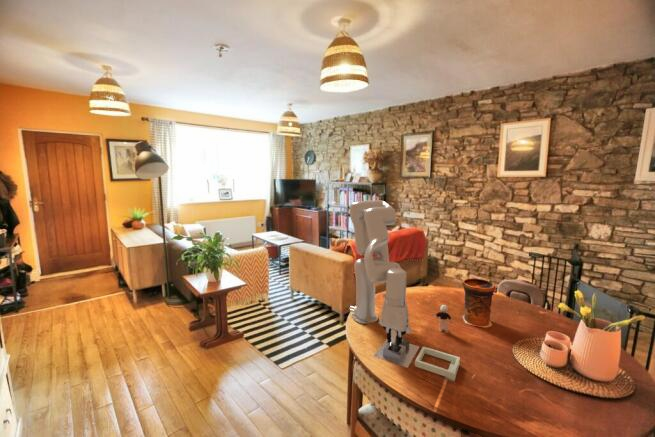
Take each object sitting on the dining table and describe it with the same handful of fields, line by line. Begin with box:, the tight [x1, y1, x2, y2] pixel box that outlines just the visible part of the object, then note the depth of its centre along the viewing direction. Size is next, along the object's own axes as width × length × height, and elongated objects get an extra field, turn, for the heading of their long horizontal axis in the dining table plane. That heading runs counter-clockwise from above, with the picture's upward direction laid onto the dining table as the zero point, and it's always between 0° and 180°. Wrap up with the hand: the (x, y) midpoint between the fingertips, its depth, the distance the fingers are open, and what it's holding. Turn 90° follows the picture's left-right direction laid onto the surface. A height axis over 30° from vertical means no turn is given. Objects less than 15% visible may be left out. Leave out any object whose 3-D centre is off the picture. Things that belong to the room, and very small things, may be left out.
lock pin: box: [390, 329, 398, 353], centre depth 120 cm, size 4×4×13 cm
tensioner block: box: [373, 336, 420, 369], centre depth 123 cm, size 14×16×4 cm
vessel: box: [461, 278, 496, 329], centre depth 146 cm, size 14×14×20 cm
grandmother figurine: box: [434, 304, 453, 334], centre depth 139 cm, size 8×4×13 cm, turn 71°
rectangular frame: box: [414, 345, 461, 383], centre depth 114 cm, size 14×11×3 cm
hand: (394, 342), depth 120 cm, fingers closed on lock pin, 3 cm apart
